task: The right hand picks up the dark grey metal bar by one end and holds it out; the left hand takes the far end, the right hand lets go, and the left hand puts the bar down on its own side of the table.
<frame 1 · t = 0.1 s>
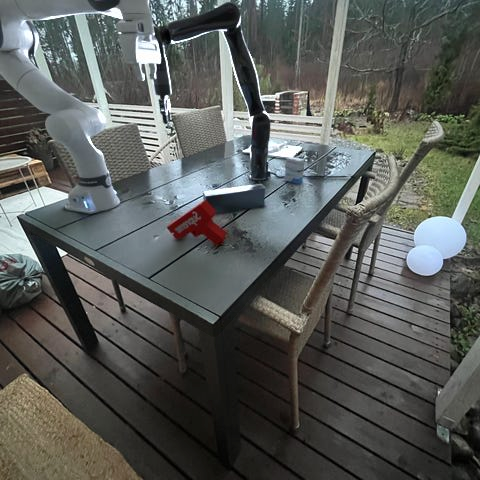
left hand: (147, 80, 91), 48 cm above the table, tool pointing down, fingers open, 8 cm apart
right hand: (167, 122, 130), 29 cm above the table, tool pointing down, fingers open, 8 cm apart
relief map: (273, 151, 194), on the table
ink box: (293, 181, 143), on the table
bar: (234, 208, 117), on the table
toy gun: (197, 240, 96), on the table
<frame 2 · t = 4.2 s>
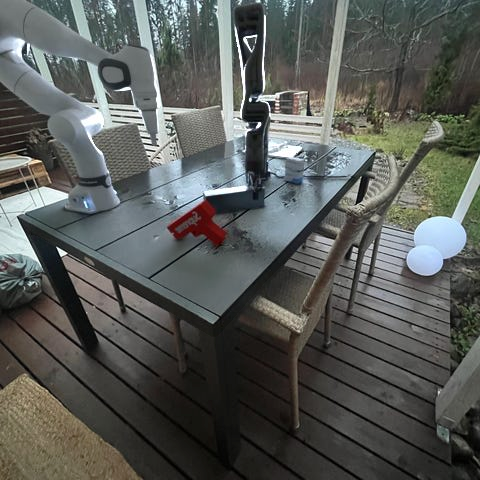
left hand: (153, 142, 102), 28 cm above the table, tool pointing down, fingers open, 8 cm apart
right hand: (253, 197, 117), 4 cm above the table, tool pointing down, fingers closed on bar, 5 cm apart
bar: (234, 208, 117), on the table, touching right hand
everything else where it was.
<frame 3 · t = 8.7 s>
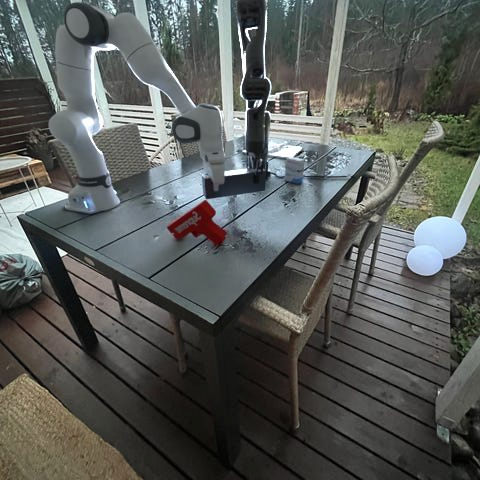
left hand: (213, 187, 109), 11 cm above the table, tool pointing down, fingers closed on bar, 5 cm apart
right hand: (253, 180, 113), 11 cm above the table, tool pointing down, fingers closed on bar, 5 cm apart
bar: (234, 192, 113), point 7 cm above the table, touching right hand, left hand
everything else where it was.
when the right hand's fingers open (11 cm above the table, at t = 9.8 s): bar stays where it is, held by the left hand.
when the left hand's fingers open (4 cm above the table, at t = 18.8 s): bar stays where it is, on the table.
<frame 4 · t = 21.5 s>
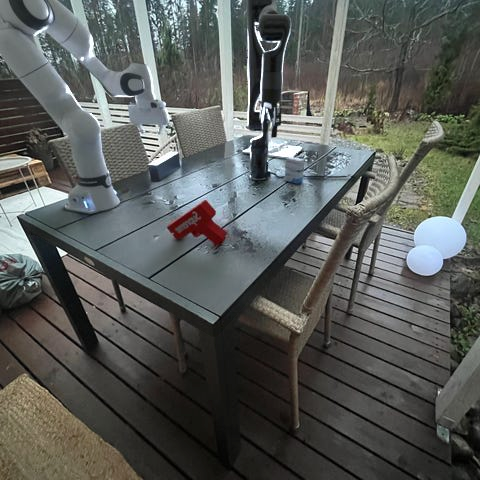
left hand: (151, 133, 136), 23 cm above the table, tool pointing down, fingers open, 8 cm apart
right hand: (269, 135, 105), 29 cm above the table, tool pointing down, fingers open, 8 cm apart
bar: (166, 173, 156), on the table
everything else where it was.
at the end: bar inside the target area (8.4 cm from its centre), on the table; the left hand is holding nothing; the right hand is holding nothing; bar at rest at the end (0.0 cm/s) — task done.
